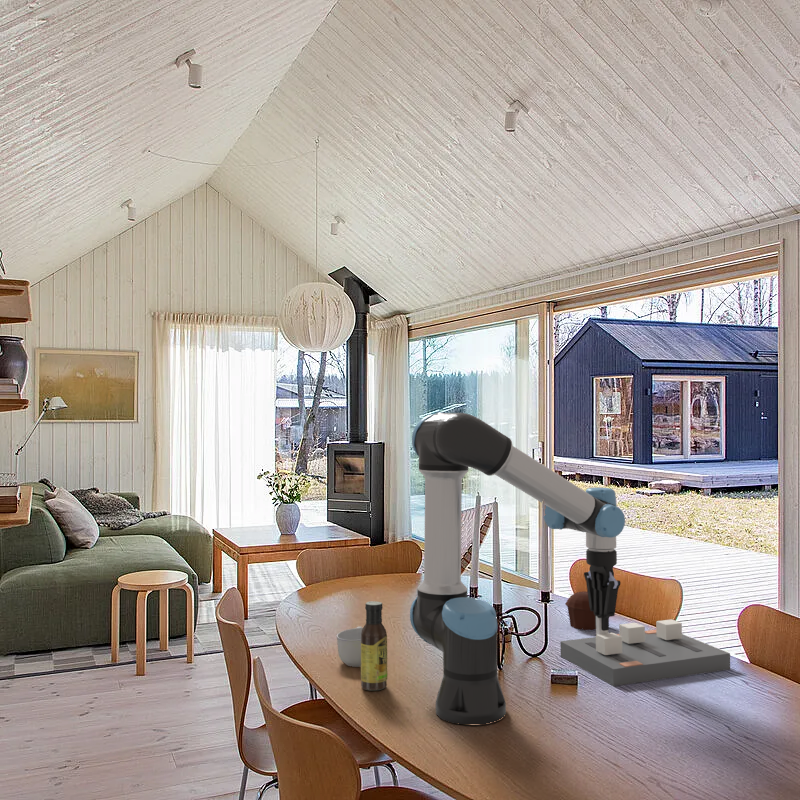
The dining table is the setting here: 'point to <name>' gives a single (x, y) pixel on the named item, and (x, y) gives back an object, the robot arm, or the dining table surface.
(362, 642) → the sauce bottle
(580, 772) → the dining table surface
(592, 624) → the muffin
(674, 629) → the switch
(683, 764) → the dining table surface
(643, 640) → the switch middle
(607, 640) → the switch
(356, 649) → the teacup
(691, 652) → the switch panel
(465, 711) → the robot arm
